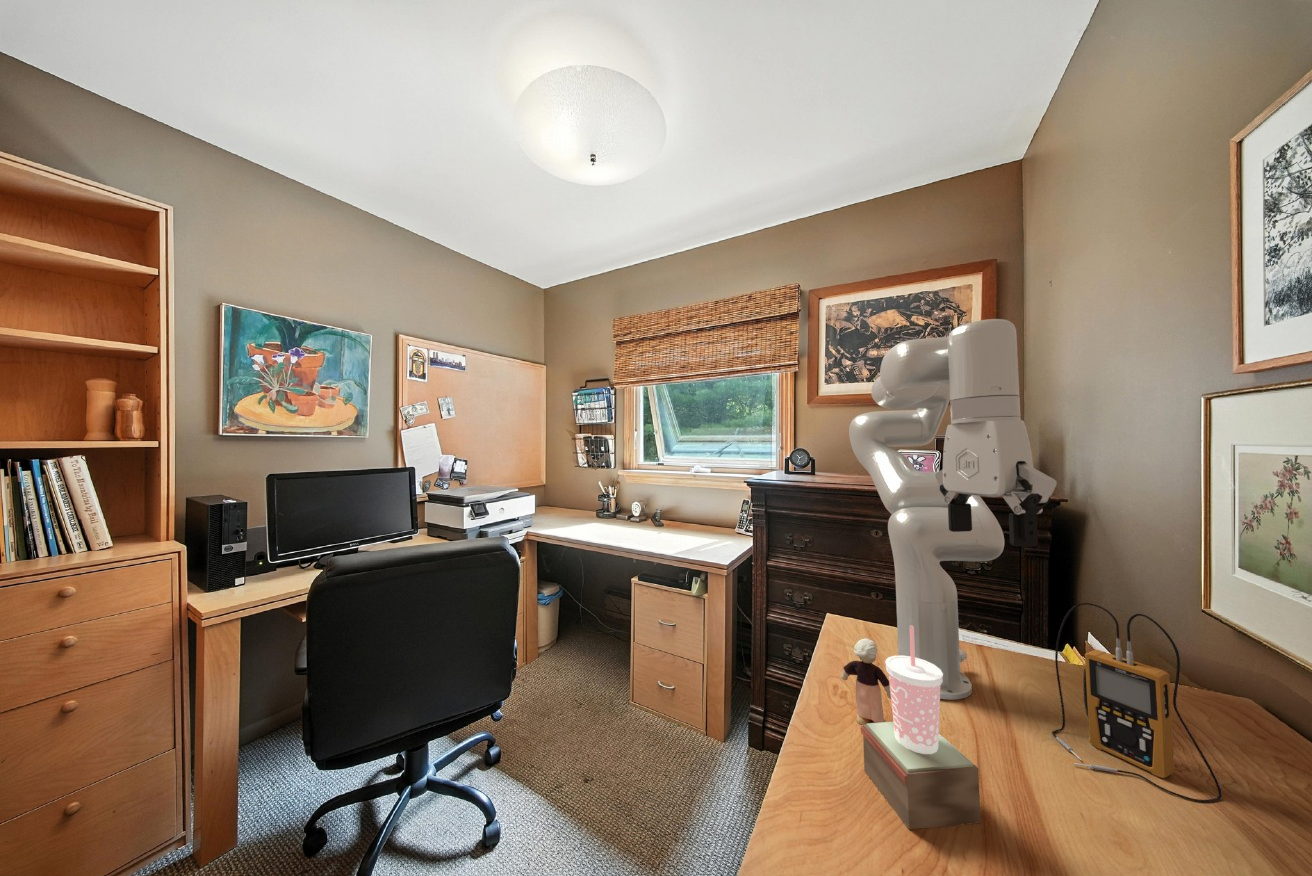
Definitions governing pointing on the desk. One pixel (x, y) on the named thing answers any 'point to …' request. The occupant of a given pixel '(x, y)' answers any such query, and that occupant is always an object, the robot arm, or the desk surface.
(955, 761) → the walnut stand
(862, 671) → the grandmother figurine
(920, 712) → the beverage cup
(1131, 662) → the multimeter
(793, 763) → the desk surface
